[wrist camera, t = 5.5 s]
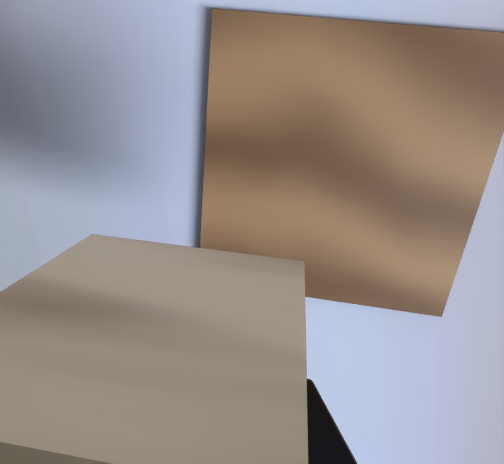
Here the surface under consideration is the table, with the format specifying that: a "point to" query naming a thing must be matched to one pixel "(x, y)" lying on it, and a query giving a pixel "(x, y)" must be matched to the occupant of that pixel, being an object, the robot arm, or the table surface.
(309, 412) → the robot arm
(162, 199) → the table surface
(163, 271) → the maple cube
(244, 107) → the walnut board
